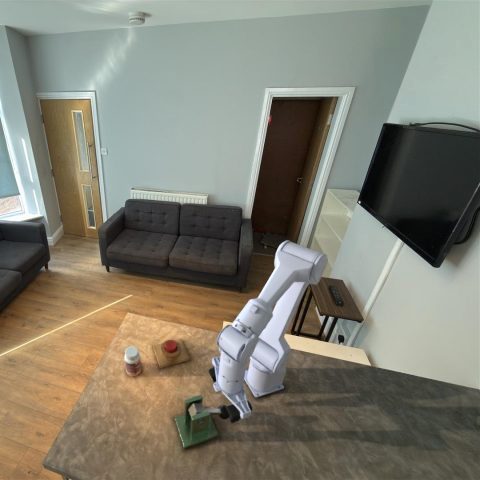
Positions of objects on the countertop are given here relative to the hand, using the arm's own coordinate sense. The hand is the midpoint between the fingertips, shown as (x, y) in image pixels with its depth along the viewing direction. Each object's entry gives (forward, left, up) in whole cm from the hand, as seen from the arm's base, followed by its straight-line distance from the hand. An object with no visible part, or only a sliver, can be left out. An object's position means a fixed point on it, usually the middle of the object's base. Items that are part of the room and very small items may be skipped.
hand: (226, 404), depth 66 cm
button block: (+7, -23, -6) cm, 25 cm away
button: (+7, -23, -3) cm, 24 cm away
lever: (+5, 0, -2) cm, 5 cm away
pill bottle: (+20, -21, -6) cm, 30 cm away
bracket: (+8, 0, -6) cm, 10 cm away
